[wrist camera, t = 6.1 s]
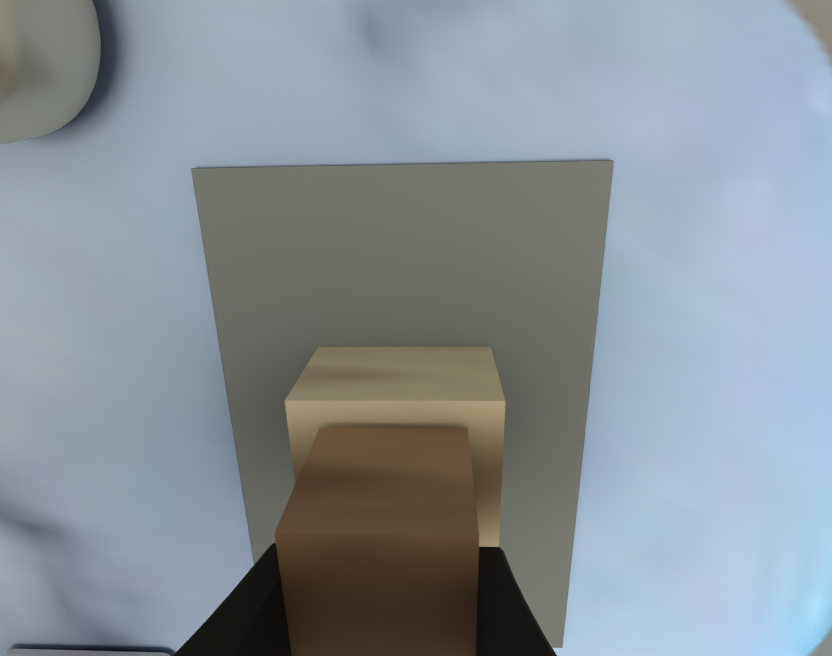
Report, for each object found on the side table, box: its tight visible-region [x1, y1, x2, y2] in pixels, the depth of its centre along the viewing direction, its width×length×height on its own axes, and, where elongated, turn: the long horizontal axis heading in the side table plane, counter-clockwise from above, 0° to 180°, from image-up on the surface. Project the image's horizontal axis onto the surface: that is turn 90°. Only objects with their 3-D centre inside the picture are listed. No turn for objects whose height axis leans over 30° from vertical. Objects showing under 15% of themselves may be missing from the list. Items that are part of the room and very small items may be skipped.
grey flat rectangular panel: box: [191, 160, 614, 648], centre depth 19 cm, size 20×13×1 cm, turn 1°
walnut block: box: [274, 427, 479, 656], centre depth 12 cm, size 4×4×4 cm
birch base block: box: [285, 347, 505, 547], centre depth 16 cm, size 6×6×4 cm
